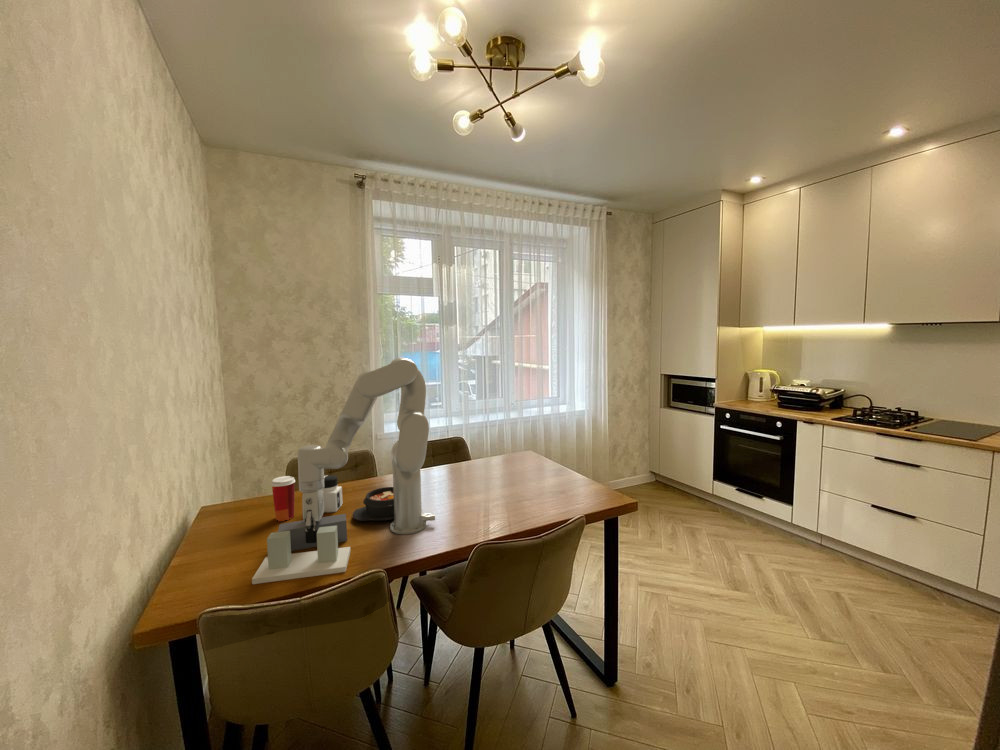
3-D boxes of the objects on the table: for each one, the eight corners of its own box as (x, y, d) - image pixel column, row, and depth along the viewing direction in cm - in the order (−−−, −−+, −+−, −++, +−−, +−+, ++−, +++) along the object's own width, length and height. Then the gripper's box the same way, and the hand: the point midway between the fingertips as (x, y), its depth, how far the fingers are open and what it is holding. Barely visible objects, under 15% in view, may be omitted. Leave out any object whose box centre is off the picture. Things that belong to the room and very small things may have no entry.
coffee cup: (291, 511, 161) (289, 474, 159) (301, 517, 155) (299, 478, 154) (268, 518, 154) (266, 479, 153) (278, 524, 149) (275, 484, 148)
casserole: (354, 531, 143) (354, 507, 142) (350, 511, 160) (349, 490, 159) (425, 517, 153) (425, 496, 153) (414, 500, 170) (413, 481, 170)
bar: (346, 533, 142) (345, 513, 141) (347, 540, 136) (346, 520, 135) (280, 544, 134) (279, 524, 133) (278, 553, 128) (277, 531, 128)
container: (343, 504, 167) (341, 473, 166) (336, 512, 159) (334, 479, 158) (323, 505, 167) (322, 473, 166) (315, 512, 159) (314, 480, 158)
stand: (350, 551, 129) (349, 518, 128) (345, 571, 117) (344, 536, 117) (266, 561, 123) (264, 527, 123) (252, 584, 112) (249, 547, 111)
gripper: (319, 492, 126) (321, 548, 127) (328, 474, 143) (330, 524, 144) (292, 494, 124) (294, 551, 125) (305, 476, 141) (307, 527, 142)
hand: (313, 536), depth 135 cm, fingers closed on bar, 6 cm apart
